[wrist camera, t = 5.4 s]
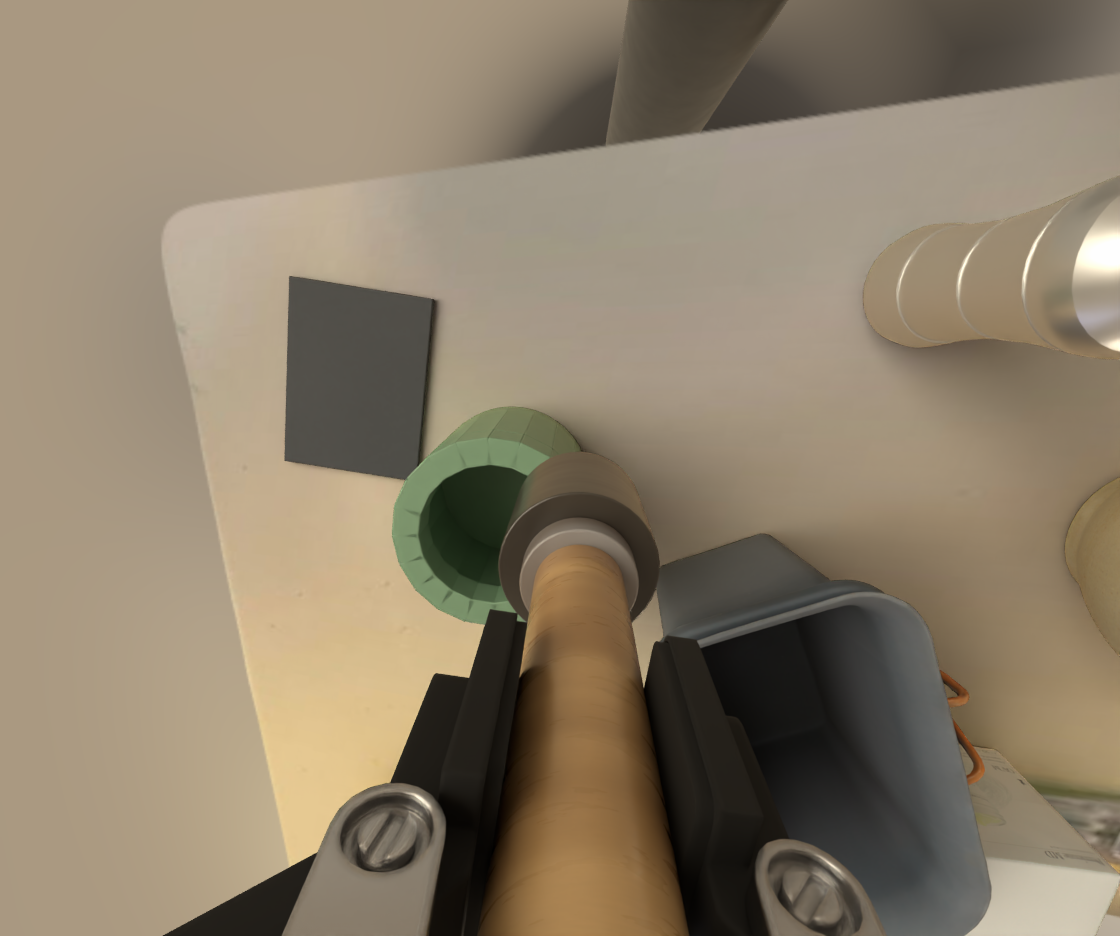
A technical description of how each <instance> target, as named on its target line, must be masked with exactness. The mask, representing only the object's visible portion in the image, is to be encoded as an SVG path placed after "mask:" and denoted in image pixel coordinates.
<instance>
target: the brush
mask: <svg viewBox="0 0 1120 936" xmlns="http://www.w3.org/2000/svg"><path fill="white" fill-rule="evenodd" d="M498 568H499V578H500V582H501V586H502V589H503V591H504V594H505V596H506V598H507V600H508V602H509V603H510V605H511V606H512V608H513V609H514V610H515V612H516V613H518V615H519V616H520V617H521V618H522V619H523V620H524V621H526V622H528V623H527V630H526V637H525V644H524V650H523V657H522V664H521V670H520V677H519V683H518V690H517V696H516V702H515V709H514V715H513V721H512V728H511V734H510V740H509V747H508V753H507V759H506V766H505V772H504V778H503V784H502V791H501V797H500V803H499V810H498V816H497V822H496V829H495V835H494V841H493V848H492V854H491V860H490V866H489V869H488V873H487V878H486V884H485V890H484V896H483V903H482V909H481V915H480V921H479V927H478V934H477V936H689V931H688V926H687V921H686V915H685V910H684V904H683V899H682V894H681V888H680V883H679V877H678V872H677V866H676V861H675V856H674V850H673V845H672V839H671V834H670V829H669V823H668V818H667V812H666V807H665V801H664V796H663V791H662V785H661V780H660V774H659V769H658V764H657V758H656V753H655V747H654V742H653V736H652V731H651V726H650V720H649V715H648V709H647V704H646V699H645V693H644V688H643V682H642V677H641V671H640V666H639V661H638V655H637V650H636V644H635V639H634V634H633V628H632V622H633V621H634V620H635V619H636V618H637V617H638V616H639V615H640V614H641V613H642V612H643V611H644V610H645V608H646V607H647V605H648V604H649V602H650V601H651V599H652V597H653V594H654V592H655V590H656V587H657V583H658V579H659V571H660V561H659V554H658V549H657V546H656V543H655V540H654V537H653V534H652V531H651V529H650V526H649V523H648V520H647V518H646V515H645V512H644V509H643V506H642V504H641V501H640V498H639V495H638V493H637V490H636V488H635V486H634V484H633V482H632V480H631V479H630V477H629V476H628V475H627V474H626V472H625V471H624V470H623V469H622V468H620V467H619V466H618V465H617V464H615V463H614V462H612V461H611V460H609V459H607V458H605V457H603V456H600V455H597V454H593V453H588V452H569V453H563V454H560V455H556V456H554V457H552V458H549V459H547V460H546V461H544V462H542V463H541V464H540V465H538V466H537V467H536V468H535V469H534V470H533V471H532V472H531V473H530V474H529V475H528V477H527V478H526V479H525V481H524V483H523V485H522V487H521V489H520V491H519V494H518V497H517V500H516V503H515V506H514V509H513V512H512V515H511V518H510V521H509V524H508V527H507V530H506V533H505V536H504V539H503V542H502V545H501V549H500V554H499V564H498Z"/></svg>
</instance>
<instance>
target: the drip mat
mask: <svg viewBox="0 0 1120 936" xmlns="http://www.w3.org/2000/svg"><path fill="white" fill-rule="evenodd" d="M433 305H434V299H429V298H423V297H417V296H411V295H404V294H398V293H392V292H386V291H380V290H373V289H367V288H361V287H355V286H349V285H342V284H336V283H330V282H324V281H318V280H311V279H305V278H299V277H293V276H289V307H288V346H287V385H286V424H285V461H289V462H296V463H302V464H308V465H315V466H321V467H328V468H334V469H340V470H347V471H353V472H359V473H366V474H372V475H378V476H385V477H391V478H397V479H404V480H406V479H407V477H408V476H409V475H410V474H411V473H412V472H413V471H414V470H415V469H416V468H417V467H418V466H419V458H420V447H421V436H422V425H423V414H424V403H425V392H426V382H427V371H428V360H429V349H430V338H431V327H432V316H433Z"/></svg>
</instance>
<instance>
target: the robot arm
mask: <svg viewBox="0 0 1120 936" xmlns="http://www.w3.org/2000/svg"><path fill="white" fill-rule="evenodd" d="M517 617H518V613H513V612H506V611H500V610H493V609H490V610H489V613H488V617H487V620H486V623H485V627H484V630H483V634H482V637H481V640H480V644H479V647H478V650H477V654H476V657H475V660H474V664H473V667H472V670H471V674H470V677H469V678H465V677H458V676H451V675H445V674H438V673H436V674H435V675H434V676H433V678H432V680H431V683H430V685H429V688H428V690H427V693H426V695H425V698H424V700H423V703H422V705H421V708H420V710H419V713H418V715H417V717H416V720H415V722H414V725H413V727H412V730H411V732H410V735H409V737H408V740H407V742H406V745H405V747H404V750H403V752H402V755H401V757H400V760H399V762H398V765H397V767H396V770H395V772H394V775H393V777H392V780H391V782H390V783H385V784H382V785H378V786H374V787H370V788H368V789H366V790H364V791H362V792H360V793H358V794H356V795H355V796H353V797H352V798H351V799H349V800H348V801H347V802H346V803H345V804H344V805H343V806H342V807H341V808H340V809H339V810H338V812H337V813H336V815H335V816H334V818H333V820H332V821H331V823H330V825H329V827H328V829H327V832H326V834H325V836H324V839H323V841H322V843H321V846H320V848H319V850H318V852H317V853H315V854H313V855H312V856H310V857H308V858H306V859H304V860H302V861H300V862H299V863H297V864H295V865H293V866H291V867H289V868H288V869H286V870H284V871H282V872H280V873H278V874H276V875H275V876H273V877H271V878H269V879H267V880H265V881H264V882H262V883H260V884H258V885H256V886H254V887H252V888H251V889H249V890H247V891H245V892H243V893H241V894H239V895H237V896H236V897H234V898H232V899H230V900H228V901H226V902H225V903H223V904H221V905H219V906H217V907H215V908H213V909H212V910H210V911H208V912H206V913H204V914H202V915H200V916H198V917H197V918H195V919H193V920H191V921H189V922H187V923H186V924H184V925H182V926H180V927H178V928H176V929H174V930H173V931H171V932H169V933H167V934H165V935H163V936H477V934H478V927H479V921H480V915H481V909H482V903H483V896H484V890H485V884H486V878H487V873H488V869H489V866H490V860H491V854H492V848H493V841H494V835H495V829H496V822H497V816H498V810H499V803H500V797H501V791H502V784H503V778H504V772H505V766H506V759H507V753H508V747H509V740H510V734H511V728H512V721H513V715H514V709H515V702H516V696H517V690H518V683H519V677H520V670H521V664H522V657H523V650H524V644H525V637H526V630H527V623H528V622H522V621H517ZM644 693H645V699H646V704H647V709H648V715H649V720H650V726H651V731H652V736H653V742H654V747H655V753H656V758H657V764H658V769H659V774H660V780H661V785H662V791H663V796H664V801H665V807H666V812H667V818H668V823H669V829H670V834H671V839H672V845H673V850H674V856H675V861H676V866H677V872H678V877H679V883H680V888H681V894H682V899H683V904H684V910H685V915H686V921H687V926H688V931H689V936H887V934H886V932H885V930H884V928H883V926H882V923H881V921H880V919H879V917H878V915H877V913H876V911H875V908H874V906H873V904H872V902H871V900H870V898H869V897H868V895H867V893H866V892H865V890H864V889H863V887H862V885H861V884H860V882H859V881H858V880H857V879H856V878H855V877H854V876H853V875H852V874H851V872H850V871H849V870H848V869H847V868H846V867H845V866H844V865H842V864H841V863H840V862H839V861H837V860H836V859H835V858H833V857H832V856H831V855H830V854H828V853H826V852H824V851H822V850H821V849H819V848H817V847H815V846H813V845H811V844H808V843H804V842H801V841H798V840H793V839H789V837H788V834H787V832H786V829H785V827H784V824H783V822H782V820H781V817H780V815H779V812H778V810H777V807H776V805H775V803H774V800H773V798H772V795H771V793H770V790H769V788H768V785H767V783H766V781H765V778H764V776H763V773H762V771H761V768H760V766H759V764H758V761H757V759H756V756H755V754H754V751H753V749H752V747H751V744H750V742H749V739H748V737H747V734H746V732H745V730H744V727H743V725H742V723H741V722H740V720H739V719H738V718H736V717H732V716H726V715H725V712H724V710H723V707H722V705H721V702H720V699H719V697H718V694H717V691H716V689H715V686H714V683H713V681H712V678H711V675H710V673H709V670H708V667H707V665H706V662H705V660H704V657H703V654H702V652H701V649H700V646H699V644H698V642H697V640H695V639H690V638H683V637H676V636H669V635H667V636H666V637H665V639H664V642H658V641H656V642H655V643H654V645H653V649H652V654H651V658H650V663H649V668H648V672H647V677H646V682H645V686H644Z"/></svg>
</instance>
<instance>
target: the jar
mask: <svg viewBox="0 0 1120 936" xmlns="http://www.w3.org/2000/svg"><path fill="white" fill-rule="evenodd" d="M569 452H582V451H581V449H580V447H579V445H578V444H577V442H576V441H575V439H574V438H573V436H572V435H571V434H570V433H569V432H568V431H567V430H566V429H565V428H564V427H563V426H562V425H561V424H560V423H558V422H557V421H555V420H554V419H552V418H551V417H549V416H547V415H545V414H543V413H540V412H538V411H535V410H531V409H527V408H521V407H501V408H496V409H491V410H488V411H485V412H482V413H480V414H478V415H476V416H474V417H473V418H471V419H469V420H468V421H466V422H465V423H463V424H462V425H461V426H460V427H459V428H458V429H456V430H455V431H454V432H453V433H452V434H451V435H450V436H449V437H448V438H447V439H446V440H445V441H444V442H442V443H441V444H440V445H439V446H438V447H437V448H436V449H435V450H434V451H433V452H432V453H431V454H430V455H429V456H427V457H426V458H425V459H424V461H423V462H422V463H421V464H420V465H419V466H418V467H417V468H416V469H415V470H414V471H413V472H412V473H411V474H410V475H409V476H408V477H407V479H406V480H405V482H404V485H403V487H402V489H401V491H400V493H399V496H398V498H397V500H396V502H395V505H394V514H393V526H392V538H393V542H394V546H395V550H396V554H397V558H398V562H399V564H400V566H401V568H402V569H403V571H404V573H405V574H406V576H407V577H408V579H409V581H410V582H411V584H412V585H413V587H414V588H416V589H415V590H416V591H417V592H418V593H420V594H421V595H422V596H423V597H424V598H425V599H426V600H428V601H429V602H430V603H431V604H432V605H433V606H435V607H436V608H437V609H438V610H440V611H443V612H445V613H447V614H449V615H451V616H453V617H456V618H458V619H460V620H462V621H464V622H465V621H466V622H471V623H477V624H484V625H485V623H486V620H487V617H488V613H489V610H490V609H493V610H500V611H506V612H513V613H516V612H515V610H514V609H513V608H512V606H511V605H510V603H509V602H508V600H507V598H506V596H505V594H504V591H503V589H502V586H501V582H500V578H499V568H498V564H499V554H500V549H501V545H502V542H503V539H504V536H505V533H506V530H507V527H508V524H509V521H510V518H511V515H512V512H513V509H514V506H515V503H516V500H517V497H518V494H519V491H520V489H521V487H522V485H523V483H524V481H525V479H526V478H527V477H528V475H529V474H530V473H531V472H532V471H533V470H534V469H535V468H536V467H537V466H538V465H540V464H541V463H542V462H544V461H546V460H547V459H549V458H552V457H554V456H556V455H560V454H563V453H569ZM517 621H522V622H526V621H524V620H523V619H522V618H521V617H520V616H519V615H518V617H517Z"/></svg>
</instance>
